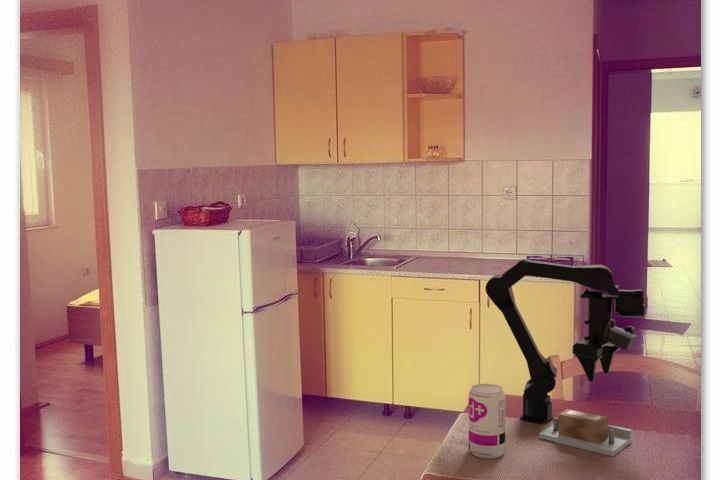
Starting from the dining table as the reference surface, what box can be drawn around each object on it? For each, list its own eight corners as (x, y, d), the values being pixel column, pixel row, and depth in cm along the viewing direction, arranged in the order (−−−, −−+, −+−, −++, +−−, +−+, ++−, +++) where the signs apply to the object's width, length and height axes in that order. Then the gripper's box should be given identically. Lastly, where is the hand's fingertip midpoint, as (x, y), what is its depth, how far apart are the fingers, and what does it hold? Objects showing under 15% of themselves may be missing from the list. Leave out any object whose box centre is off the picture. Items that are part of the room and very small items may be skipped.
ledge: (538, 438, 169) (538, 421, 169) (559, 425, 177) (559, 409, 177) (613, 456, 157) (613, 438, 157) (631, 442, 166) (631, 424, 165)
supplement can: (483, 462, 155) (483, 395, 154) (461, 450, 163) (461, 386, 161) (512, 455, 159) (512, 390, 158) (490, 443, 166) (489, 381, 165)
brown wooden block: (558, 434, 168) (558, 413, 168) (567, 428, 172) (567, 408, 171) (599, 444, 161) (599, 422, 161) (608, 438, 165) (608, 416, 165)
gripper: (617, 325, 164) (616, 391, 165) (645, 313, 178) (644, 374, 179) (571, 320, 171) (571, 383, 172) (602, 309, 185) (601, 367, 186)
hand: (598, 377), depth 177 cm, fingers open, 9 cm apart
